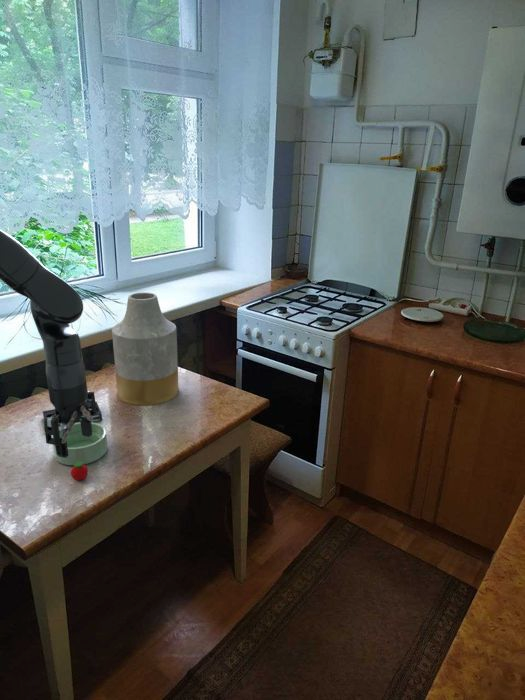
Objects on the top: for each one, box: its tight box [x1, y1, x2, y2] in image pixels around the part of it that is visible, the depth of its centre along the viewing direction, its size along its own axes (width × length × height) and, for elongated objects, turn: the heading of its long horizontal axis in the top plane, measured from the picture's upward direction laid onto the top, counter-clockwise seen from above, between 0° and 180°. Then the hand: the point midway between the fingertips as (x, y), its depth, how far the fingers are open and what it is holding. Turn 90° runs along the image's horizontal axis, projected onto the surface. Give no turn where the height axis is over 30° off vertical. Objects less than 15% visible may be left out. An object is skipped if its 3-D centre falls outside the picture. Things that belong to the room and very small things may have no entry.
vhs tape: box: [42, 400, 103, 428], centre depth 135 cm, size 14×8×2 cm, turn 117°
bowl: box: [52, 422, 109, 466], centre depth 120 cm, size 12×12×5 cm
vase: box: [111, 292, 180, 407], centre depth 147 cm, size 18×18×30 cm
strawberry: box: [70, 462, 89, 481], centre depth 111 cm, size 4×4×4 cm
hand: (75, 445), depth 109 cm, fingers open, 8 cm apart
